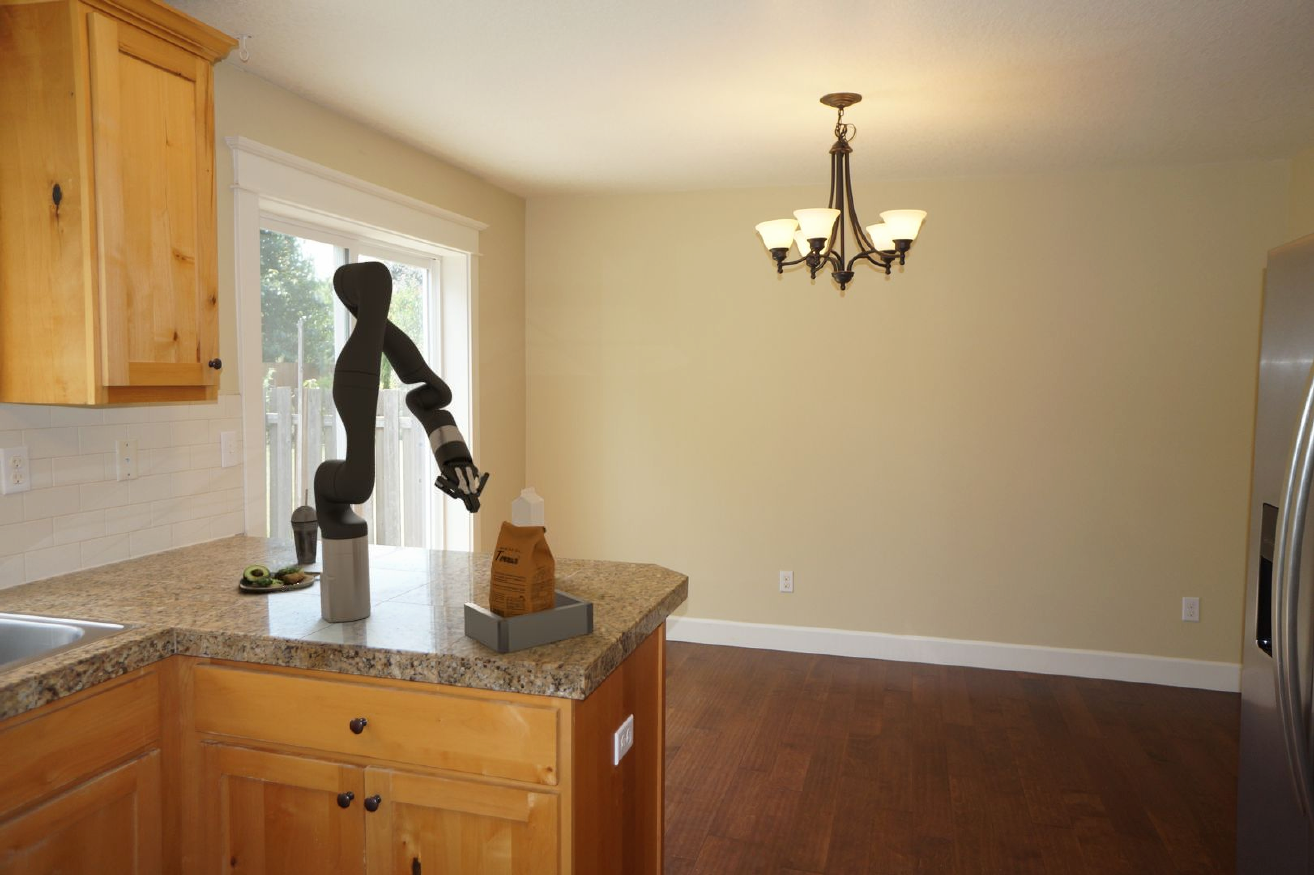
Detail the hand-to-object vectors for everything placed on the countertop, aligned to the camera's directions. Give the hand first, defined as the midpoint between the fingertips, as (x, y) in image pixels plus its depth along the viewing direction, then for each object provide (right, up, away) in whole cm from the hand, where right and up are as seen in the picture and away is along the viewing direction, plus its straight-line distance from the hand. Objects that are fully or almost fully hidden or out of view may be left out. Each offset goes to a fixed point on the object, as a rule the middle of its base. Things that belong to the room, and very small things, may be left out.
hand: (475, 510), depth 184 cm
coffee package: (+13, -23, -17) cm, 31 cm away
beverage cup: (-56, -18, +48) cm, 76 cm away
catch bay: (+13, -23, -15) cm, 31 cm away
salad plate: (-54, -21, +25) cm, 63 cm away
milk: (+7, -19, +32) cm, 38 cm away
